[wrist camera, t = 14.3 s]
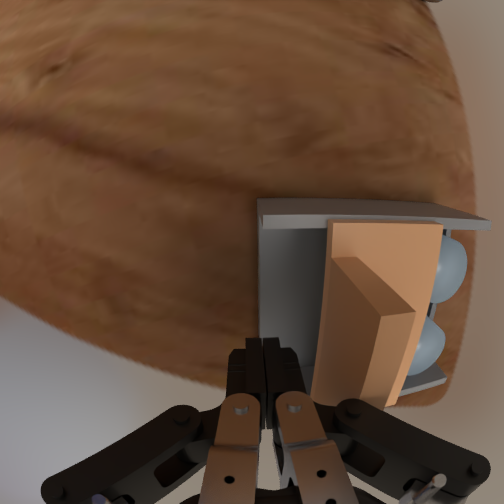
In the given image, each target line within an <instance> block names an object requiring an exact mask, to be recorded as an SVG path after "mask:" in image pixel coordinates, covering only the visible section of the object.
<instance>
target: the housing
mask: <svg viewBox="0 0 504 504" xmlns="http://www.w3.org/2000/svg"><path fill="white" fill-rule="evenodd" d="M328 219H366V220H412V221H435V222H438V223H440V224H443V233H442V235H445V236H447V237H449V238H450V236H451V229H459V230H490V229H491V221H490V220H487V219H484V218H481V217H478V216H475V215H472V214H469V213H466V212H463V211H459V210H456V209H453V208H449V207H446V206H442V205H439V204H435V203H424V202H410V201H393V200H373V199H344V198H257V239H258V334H259V338H262V339H263V338H266V337H279V341H280V347H281V348H285V347H291V348H292V349H293V350H294V351H295V352H296V354H297V357H298V360H299V364H300V370H301V372H302V376H303V380H304V384H305V388H306V392H307V395H308V396H310V393H311V387H312V381H313V374H314V367H315V360H316V353H317V345H318V337H319V329H320V320H321V310H322V300H323V289H324V277H325V264H326V248H327V229H328ZM436 306H437V303H431V302H430V303H429V307H428V311H427V316H428V317H429V318H430V319H431V320H432V321H433V317H434V314H435V310H436ZM446 379H447V376H446V375H445V374H444V372H443V371H442V370H441V369H440V367H439V366H438V365H437V364H436V363H435V362H434V363H433V364H432V365H431V366H430V367H429V368H427V369H426V370H424V371H423V372H421V373H418V374H416V375H410V376H408V375H407V376H406V379H405V381H404V384H403V386H402V389H401V391H400V394H399V396H402V395H406V394H410V393H413V392H417V391H420V390H424V389H427V388H430V387H433V386H436V385H439V384H442V383H445V381H446Z"/></svg>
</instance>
